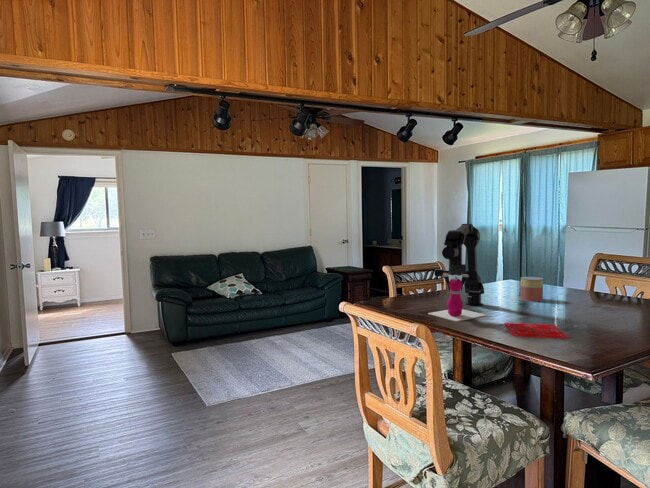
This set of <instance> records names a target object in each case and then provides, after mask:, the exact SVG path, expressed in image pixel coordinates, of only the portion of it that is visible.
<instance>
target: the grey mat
mask: <svg viewBox="0 0 650 488" xmlns="http://www.w3.org/2000/svg"><path fill="white" fill-rule="evenodd" d="M427 315H429V316H434V317H438V318H441V319H445V320H449V321H453V322H455V323H457V322H462V321H468V320H473V319H477V318H481V317H486V316H487V314H485V313H479V312H474V311H472V310H467V309H463V308H462V314H461V315H460V316H451V315H449V313H448V309H444V310H439V311H433V312H428V313H427Z"/></svg>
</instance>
